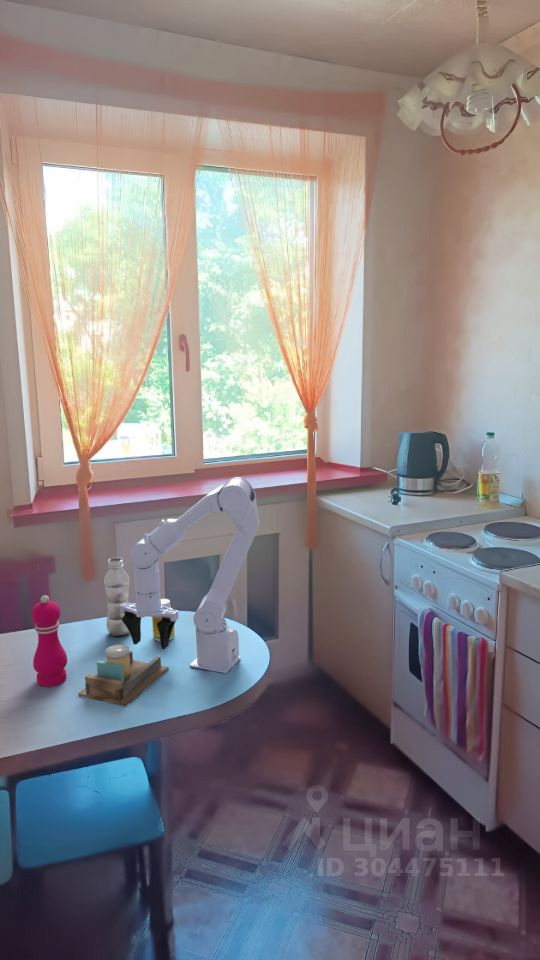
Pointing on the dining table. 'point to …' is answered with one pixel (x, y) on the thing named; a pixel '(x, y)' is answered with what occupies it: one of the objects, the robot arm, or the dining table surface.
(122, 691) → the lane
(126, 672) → the jar
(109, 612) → the plastic bottle
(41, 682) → the pepper mill
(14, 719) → the dining table surface
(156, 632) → the supplement bottle
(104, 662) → the pusher
